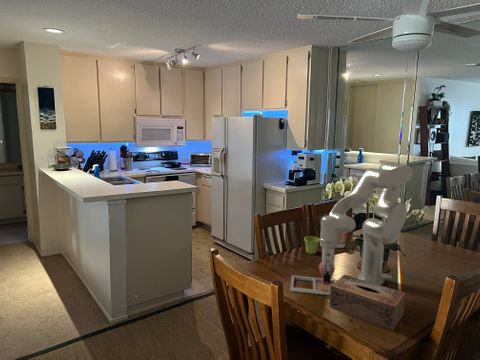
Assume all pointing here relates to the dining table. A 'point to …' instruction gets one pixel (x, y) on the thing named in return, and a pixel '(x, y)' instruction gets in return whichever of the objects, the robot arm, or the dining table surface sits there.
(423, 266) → the dining table surface
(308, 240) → the plant pot
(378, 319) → the tissue box cover
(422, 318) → the dining table surface
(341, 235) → the fruit juice
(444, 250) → the dining table surface
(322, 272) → the light bulb
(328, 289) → the rail frame
